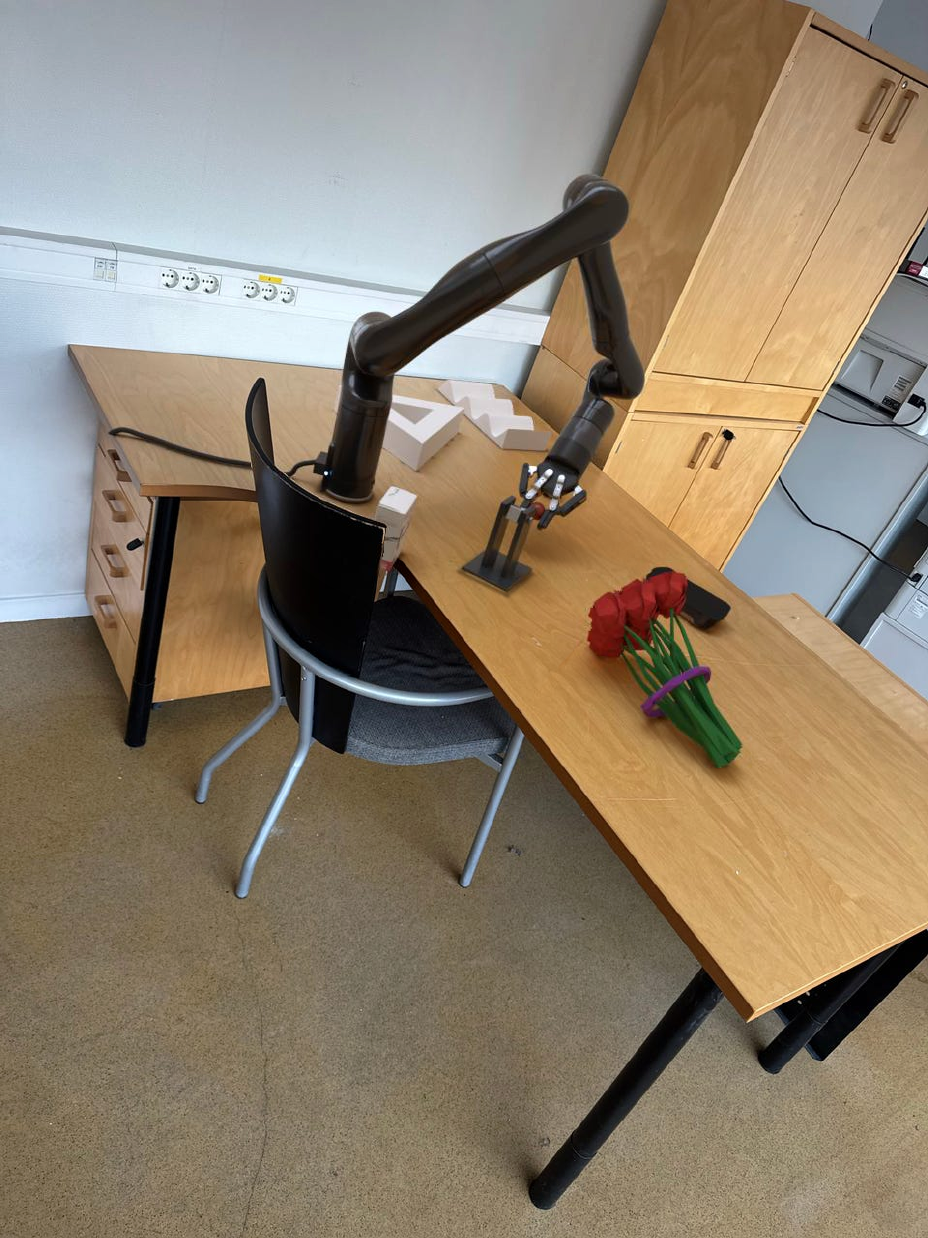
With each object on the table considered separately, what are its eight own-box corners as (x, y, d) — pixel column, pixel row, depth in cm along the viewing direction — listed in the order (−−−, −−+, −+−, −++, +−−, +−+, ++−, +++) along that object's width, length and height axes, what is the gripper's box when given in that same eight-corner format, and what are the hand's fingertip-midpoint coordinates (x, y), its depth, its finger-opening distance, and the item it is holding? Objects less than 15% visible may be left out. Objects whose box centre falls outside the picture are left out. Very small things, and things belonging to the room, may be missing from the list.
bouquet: (667, 810, 119) (551, 650, 133) (736, 780, 129) (622, 634, 143) (750, 729, 106) (613, 562, 120) (819, 702, 116) (685, 551, 130)
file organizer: (478, 393, 232) (483, 375, 229) (545, 450, 208) (552, 431, 206) (437, 389, 225) (442, 370, 222) (501, 448, 202) (508, 428, 199)
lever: (527, 515, 157) (535, 498, 156) (543, 523, 156) (551, 506, 155) (500, 519, 143) (508, 500, 142) (518, 527, 142) (526, 509, 141)
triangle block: (333, 410, 193) (338, 384, 189) (418, 406, 210) (424, 382, 207) (415, 471, 177) (422, 443, 174) (500, 461, 194) (508, 435, 191)
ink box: (389, 576, 139) (405, 513, 133) (360, 566, 139) (375, 503, 133) (402, 554, 146) (418, 493, 140) (375, 544, 147) (390, 483, 140)
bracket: (487, 552, 156) (509, 485, 148) (530, 573, 153) (554, 506, 146) (460, 572, 147) (482, 502, 139) (505, 595, 144) (529, 525, 137)
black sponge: (727, 623, 157) (735, 607, 156) (706, 635, 152) (714, 618, 150) (656, 579, 165) (663, 563, 163) (634, 588, 159) (641, 572, 157)
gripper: (540, 423, 156) (493, 499, 152) (609, 453, 152) (562, 532, 149) (542, 443, 163) (497, 516, 159) (608, 473, 159) (563, 548, 156)
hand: (529, 523), depth 154 cm, fingers closed on lever, 3 cm apart
